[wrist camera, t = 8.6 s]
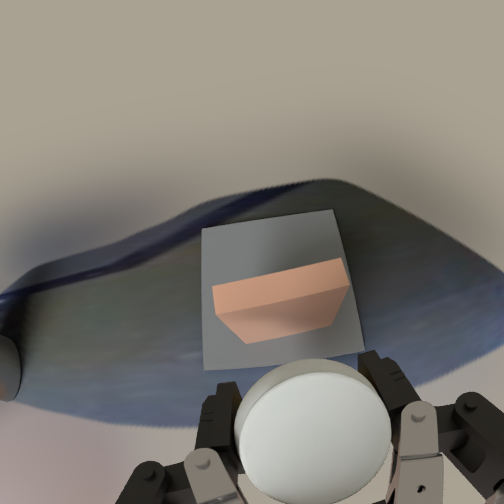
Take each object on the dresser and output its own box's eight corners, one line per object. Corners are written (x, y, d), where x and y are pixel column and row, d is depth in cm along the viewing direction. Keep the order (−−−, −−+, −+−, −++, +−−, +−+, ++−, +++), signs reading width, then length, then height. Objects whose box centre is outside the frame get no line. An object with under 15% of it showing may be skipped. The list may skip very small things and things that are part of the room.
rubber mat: (206, 370, 22) (203, 369, 21) (203, 231, 29) (201, 228, 28) (363, 351, 21) (364, 350, 20) (332, 212, 27) (332, 209, 27)
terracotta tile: (331, 325, 22) (350, 284, 14) (246, 344, 22) (215, 314, 14) (326, 306, 22) (340, 256, 15) (242, 324, 23) (212, 285, 15)
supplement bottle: (253, 454, 13) (202, 516, 5) (261, 369, 16) (219, 340, 7) (346, 455, 12) (400, 517, 4) (352, 370, 15) (416, 340, 6)
